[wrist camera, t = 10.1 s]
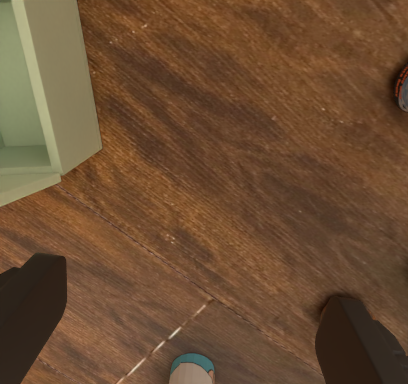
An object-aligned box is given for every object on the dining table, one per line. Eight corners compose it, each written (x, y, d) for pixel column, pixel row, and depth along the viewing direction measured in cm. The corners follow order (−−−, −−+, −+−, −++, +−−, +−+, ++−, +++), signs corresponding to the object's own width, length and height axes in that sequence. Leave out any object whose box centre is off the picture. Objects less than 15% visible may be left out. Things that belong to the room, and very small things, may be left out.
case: (-41, -3, 31) (-151, -33, 22) (74, -11, 30) (12, -46, 21) (5, 152, 37) (-67, 180, 27) (102, 148, 36) (63, 175, 27)
